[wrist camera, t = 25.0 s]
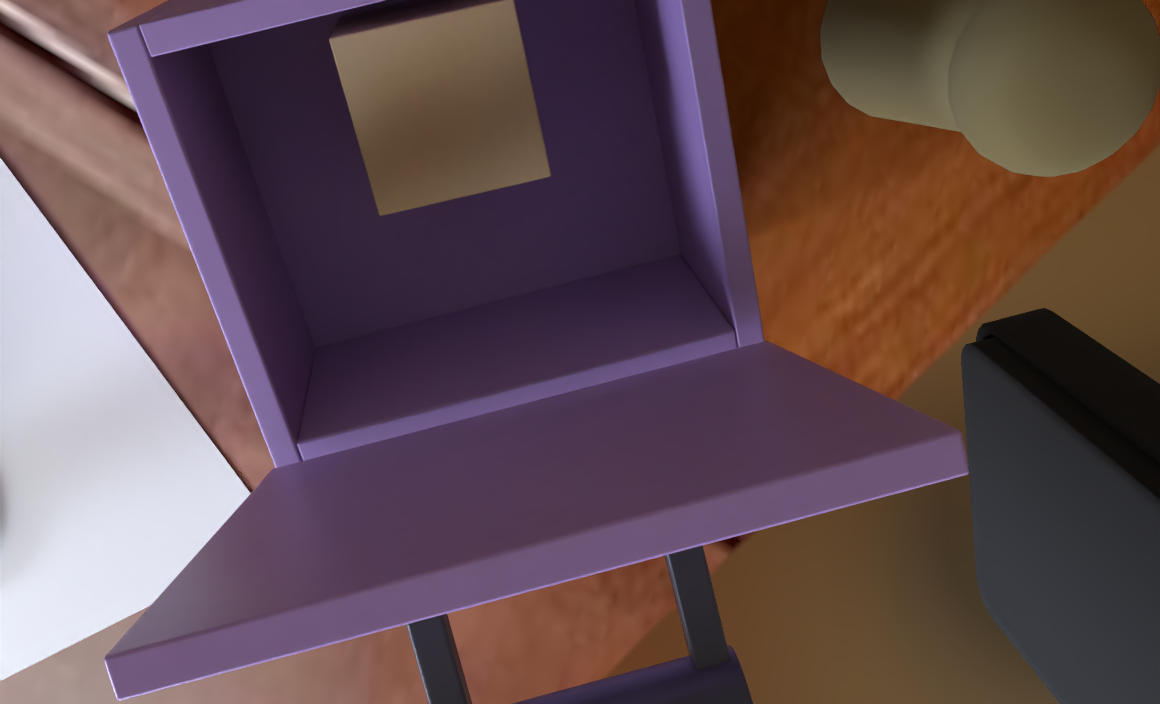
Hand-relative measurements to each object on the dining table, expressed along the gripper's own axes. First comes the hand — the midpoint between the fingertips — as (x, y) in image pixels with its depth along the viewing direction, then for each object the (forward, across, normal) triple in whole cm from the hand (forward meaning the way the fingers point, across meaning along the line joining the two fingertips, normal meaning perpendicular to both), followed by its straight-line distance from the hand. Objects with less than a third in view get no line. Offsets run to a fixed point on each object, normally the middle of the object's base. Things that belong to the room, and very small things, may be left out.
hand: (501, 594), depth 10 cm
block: (+27, 0, 0) cm, 27 cm away
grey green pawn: (+28, -16, +2) cm, 32 cm away
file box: (+28, 0, +2) cm, 28 cm away
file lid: (+13, 0, +6) cm, 15 cm away
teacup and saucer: (+28, +22, +8) cm, 36 cm away
